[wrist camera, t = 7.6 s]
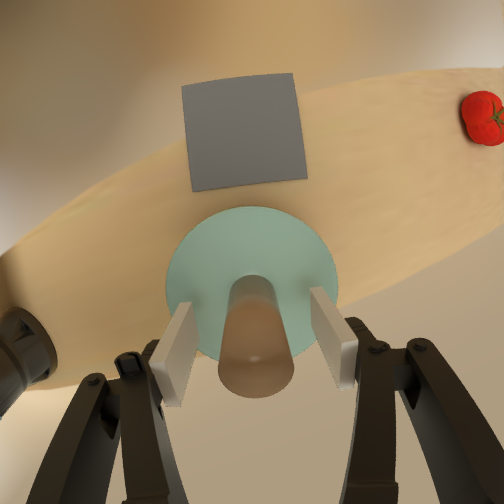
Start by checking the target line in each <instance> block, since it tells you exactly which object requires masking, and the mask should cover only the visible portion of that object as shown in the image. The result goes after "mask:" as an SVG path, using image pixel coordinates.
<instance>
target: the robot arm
mask: <svg viewBox="0 0 504 504" xmlns="http://www.w3.org/2000/svg"><path fill="white" fill-rule="evenodd" d="M310 308H311V327H312V329H313V331H314V334H315V336H316V338H317V340H318V343H319V345H320V348H321V350H322V352H323V354H324V357H325V359H326V361H327V364H328V366H329V369H330V371H331V373H332V376H333V378H334V380H335V383H336V385H337V388H338V390H339V391H340V390H345V389H349V388H353V387H354V384H355V379H356V381H357V383H358V390H357V398H356V410H355V418H354V426H353V433H352V440H351V446H350V452H349V458H348V464H347V469H346V474H345V479H344V483H343V488H342V493H341V497H340V501H339V504H397V502H398V483H397V482H395V461H396V410H395V391H399V393H400V396H401V398H402V400H403V403H404V405H405V407H406V410H407V412H408V415H409V417H410V420H411V422H412V425H413V427H414V430H415V432H416V435H417V437H418V440H419V443H420V445H421V448H422V451H423V453H424V456H425V459H426V462H427V464H428V467H429V470H430V473H431V476H432V479H433V482H434V485H435V488H436V492H437V495H438V498H439V501H440V504H504V450H503V448H502V446H501V444H500V442H499V441H498V439H497V437H496V436H495V434H494V432H493V430H492V429H491V427H490V425H489V424H488V422H487V420H486V419H485V417H484V416H483V414H482V413H481V411H480V409H479V408H478V406H477V405H476V403H475V402H474V400H473V399H472V397H471V396H470V394H469V393H468V391H467V390H466V388H465V387H464V385H463V384H462V382H461V381H460V380H459V378H458V377H457V375H456V374H455V372H454V371H453V370H452V368H451V367H450V366H449V364H448V363H447V361H446V360H445V359H444V357H443V356H442V355H441V354H440V352H439V351H438V349H437V348H436V347H435V345H434V344H433V343H432V342H431V341H430V340H428V339H425V338H415V339H412V340H410V341H409V342H408V343H407V347H406V348H403V349H391V348H390V345H389V344H387V343H386V342H384V341H379V340H376V338H375V337H374V336H373V335H372V333H371V332H370V331H369V330H368V328H367V327H366V326H365V324H364V323H363V322H362V320H360V319H358V318H356V317H350V318H343V316H342V315H341V314H340V312H339V311H338V309H337V308H336V306H335V305H334V303H333V302H332V301H331V299H330V298H329V296H328V295H327V293H326V292H325V291H324V289H323V288H322V286H319V287H312V288H310ZM199 340H200V337H199V333H198V328H197V324H196V320H195V315H194V310H193V306H192V302H181V303H180V304H179V306H178V307H177V309H176V311H175V313H174V315H173V317H172V318H171V320H170V322H169V324H168V326H167V328H166V330H165V332H164V333H163V335H162V337H161V339H160V340H152V341H151V342H150V343H148V344H147V345H146V347H145V349H144V351H143V352H142V354H141V355H140V354H139V353H138V352H126V353H123V354H121V355H119V356H118V357H117V358H116V359H115V361H114V363H115V365H116V368H117V370H118V372H119V375H120V378H119V379H114V380H108V381H107V380H106V378H105V376H104V375H103V374H101V373H92V374H89V375H88V376H86V377H85V378H84V379H83V380H82V382H81V384H80V385H79V387H78V389H77V391H76V393H75V395H74V397H73V398H72V400H71V402H70V404H69V406H68V408H67V410H66V412H65V414H64V416H63V418H62V420H61V422H60V424H59V426H58V428H57V430H56V432H55V435H54V437H53V439H52V441H51V443H50V446H49V447H48V450H47V452H46V454H45V456H44V459H43V461H42V463H41V466H40V468H39V471H38V473H37V475H36V478H35V481H34V483H33V486H32V488H31V491H30V494H29V496H28V499H27V502H26V504H105V503H106V497H107V492H108V487H109V483H110V477H111V473H112V469H113V465H114V460H115V456H116V452H117V448H118V444H119V440H120V436H121V445H122V458H123V468H124V478H125V486H126V493H127V499H126V500H125V501H122V504H189V503H188V500H187V497H186V494H185V491H184V488H183V485H182V482H181V478H180V475H179V472H178V469H177V465H176V462H175V458H174V454H173V451H172V447H171V443H170V439H169V435H168V431H167V427H166V422H165V418H164V414H163V410H162V408H161V405H160V404H161V401H162V398H163V401H164V403H165V405H166V406H167V407H181V404H182V400H183V397H184V393H185V389H186V386H187V382H188V378H189V375H190V371H191V368H192V365H193V361H194V357H195V354H196V351H197V347H198V344H199ZM56 367H57V357H56V352H55V349H54V346H53V344H52V342H51V340H50V338H49V336H48V334H47V333H46V331H45V330H44V328H43V327H42V326H41V324H40V323H39V322H38V321H37V320H36V319H35V318H34V317H33V316H32V315H31V314H30V313H28V312H27V311H25V310H23V309H21V308H17V307H14V308H11V309H9V310H8V311H6V312H5V313H4V314H3V315H2V316H1V318H0V420H1V419H2V416H3V415H4V414H5V413H6V412H7V410H8V409H9V408H10V407H11V406H12V404H13V403H14V402H15V401H16V400H17V399H18V397H19V396H20V395H21V394H22V393H23V392H24V391H25V389H26V388H27V387H29V386H31V385H34V384H36V383H38V382H41V381H43V380H45V379H47V378H49V377H50V376H51V374H52V373H53V372H54V371H55V369H56Z"/></svg>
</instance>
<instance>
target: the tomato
mask: <svg viewBox="0 0 504 504" xmlns="http://www.w3.org/2000/svg"><path fill="white" fill-rule="evenodd" d="M461 110H462V116H463V119H464V121H465V123H466V127H467V132H468V134H469V136H470V137H471V138H472V140H473V141H474V142H476V143H478V144H484V145H486V146H496V145H499V144H501V143H503V142H504V107H503V106H502V102H501V100H500V98H499V97H498V96H496V95H495V94H493V93H491V92H488V91H477V92H474V93H472V94H470V95H468V97H467V98H466V99H465V100H464V101H463V104H462V109H461Z"/></svg>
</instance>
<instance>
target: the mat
mask: <svg viewBox="0 0 504 504" xmlns="http://www.w3.org/2000/svg"><path fill="white" fill-rule="evenodd" d="M182 99H183V110H184V122H185V132H186V141H187V150H188V159H189V167H190V175H191V183H192V191H193V192H197V191H204V190H211V189H218V188H225V187H232V186H240V185H248V184H257V183H266V182H275V181H285V180H295V179H307V178H308V176H307V168H306V159H305V151H304V144H303V136H302V129H301V122H300V116H299V109H298V103H297V97H296V91H295V85H294V80H293V74H292V73H286V74H285V73H284V74H267V75H254V76H245V77H236V78H228V79H220V80H214V81H207V82H202V83H196V84H191V85H185V86H182Z"/></svg>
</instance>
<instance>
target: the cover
mask: <svg viewBox="0 0 504 504" xmlns="http://www.w3.org/2000/svg"><path fill="white" fill-rule="evenodd" d="M319 286H322V288H323V289H324V291H325V292H326V293H327V295H328V296H329V298H330V299H331V301H332V302H333V303H334V305H335V306H336V301H337V296H338V277H337V272H336V267H335V264H334V261H333V258H332V256H331V254H330V252H329V250H328V248H327V246H326V245H325V243H324V242H323V241H322V239H321V238H320V237H319V236H318V235H317V234H316V233H315V232H314V231H313V230H312V229H311V228H310V227H309V226H307V225H306V224H305V223H303V222H302V221H301V220H299V219H297V218H296V217H294V216H292V215H290V214H288V213H286V212H283V211H281V210H278V209H274V208H270V207H264V206H241V207H235V208H230V209H227V210H224V211H221V212H218V213H216V214H214V215H212V216H210V217H208V218H207V219H205V220H204V221H202V222H201V223H199V224H198V225H197V226H196V227H195V228H194V229H192V230H191V231H190V232H189V233H188V234H187V235H186V237H185V238H184V239H183V240H182V241H181V243H180V244H179V246H178V247H177V249H176V250H175V252H174V254H173V257H172V259H171V261H170V264H169V268H168V271H167V278H166V297H167V304H168V307H169V311H170V314H171V316H172V317H173V315H174V313H175V311H176V309H177V307H178V306H179V304H180V303H181V302H192V306H193V310H194V315H195V320H196V324H197V328H198V333H199V337H200V340H199V344H198V347H197V350H199V351H200V352H201V353H203V354H205V355H206V356H208V357H210V358H212V359H215V360H217V361H219V365H218V374H219V378H220V380H221V382H222V383H223V385H224V386H225V387H226V388H227V389H228V390H230V391H231V392H233V393H235V394H237V395H239V396H242V397H247V398H263V397H268V396H271V395H274V394H275V393H278V392H279V391H281V390H282V389H284V388H285V387H286V386H287V385H288V383H289V382H290V380H291V379H292V376H293V373H294V364H293V360H292V358H293V357H295V356H297V355H298V354H300V353H301V352H303V351H304V350H306V349H307V348H308V347H309V346H310V345H312V344H313V342H315V341H316V340H317V338H316V336H315V334H314V331H313V329H312V327H311V308H310V288H312V287H319Z"/></svg>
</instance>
